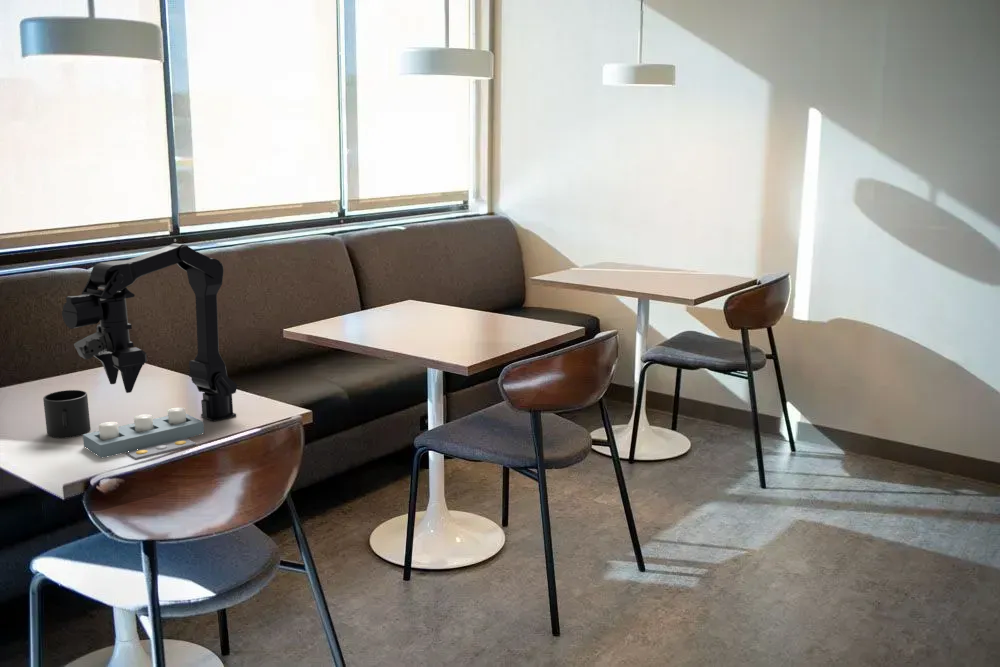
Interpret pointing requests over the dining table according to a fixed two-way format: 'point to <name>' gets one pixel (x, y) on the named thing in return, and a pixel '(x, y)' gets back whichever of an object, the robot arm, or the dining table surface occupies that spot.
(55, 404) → the mug
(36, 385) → the dining table surface
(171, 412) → the button
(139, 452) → the card
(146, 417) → the button mid
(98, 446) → the button board
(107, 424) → the button
